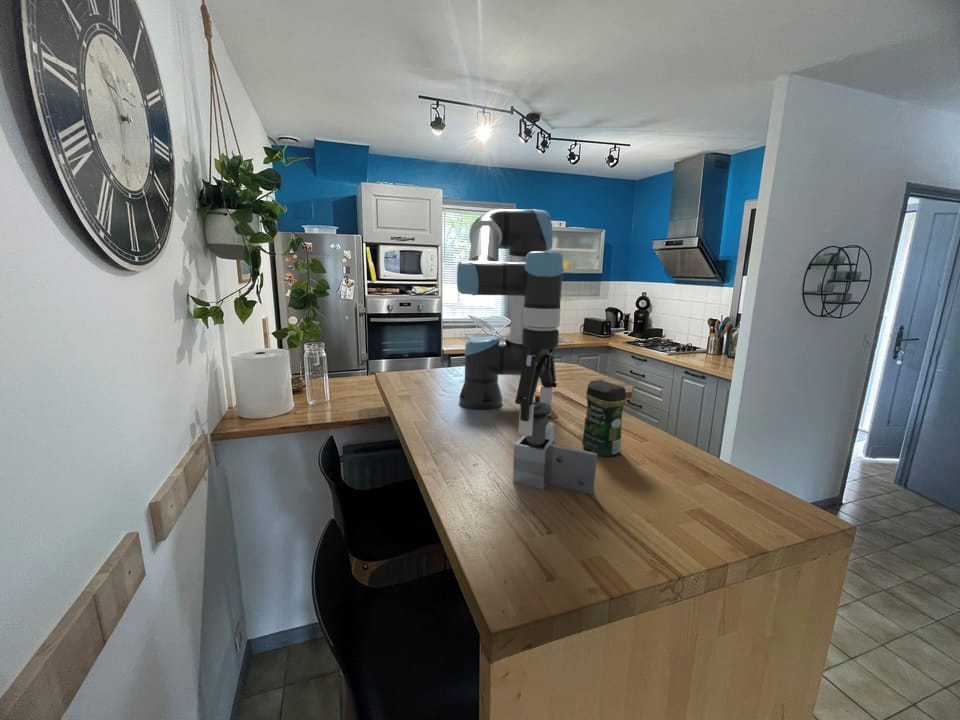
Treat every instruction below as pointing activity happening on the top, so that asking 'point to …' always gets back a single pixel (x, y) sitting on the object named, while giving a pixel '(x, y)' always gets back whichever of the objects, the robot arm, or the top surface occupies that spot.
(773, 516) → the top surface
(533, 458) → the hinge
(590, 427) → the coffee jar
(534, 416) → the pin
